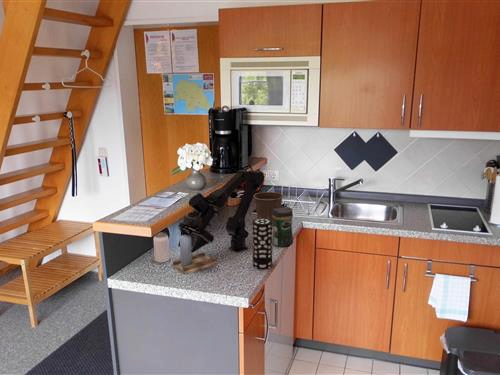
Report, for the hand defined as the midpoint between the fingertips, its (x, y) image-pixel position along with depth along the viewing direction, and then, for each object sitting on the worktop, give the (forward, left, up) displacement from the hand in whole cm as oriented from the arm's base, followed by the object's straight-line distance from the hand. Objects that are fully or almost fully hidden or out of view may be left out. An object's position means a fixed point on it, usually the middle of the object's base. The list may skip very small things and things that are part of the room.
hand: (185, 249), depth 178 cm
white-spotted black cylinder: (-26, +20, -9) cm, 34 cm away
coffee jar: (-50, +8, -9) cm, 51 cm away
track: (-4, 0, -8) cm, 9 cm away
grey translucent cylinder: (0, 0, -7) cm, 8 cm away
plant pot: (-66, -20, -9) cm, 70 cm away
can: (+4, -14, -9) cm, 17 cm away
